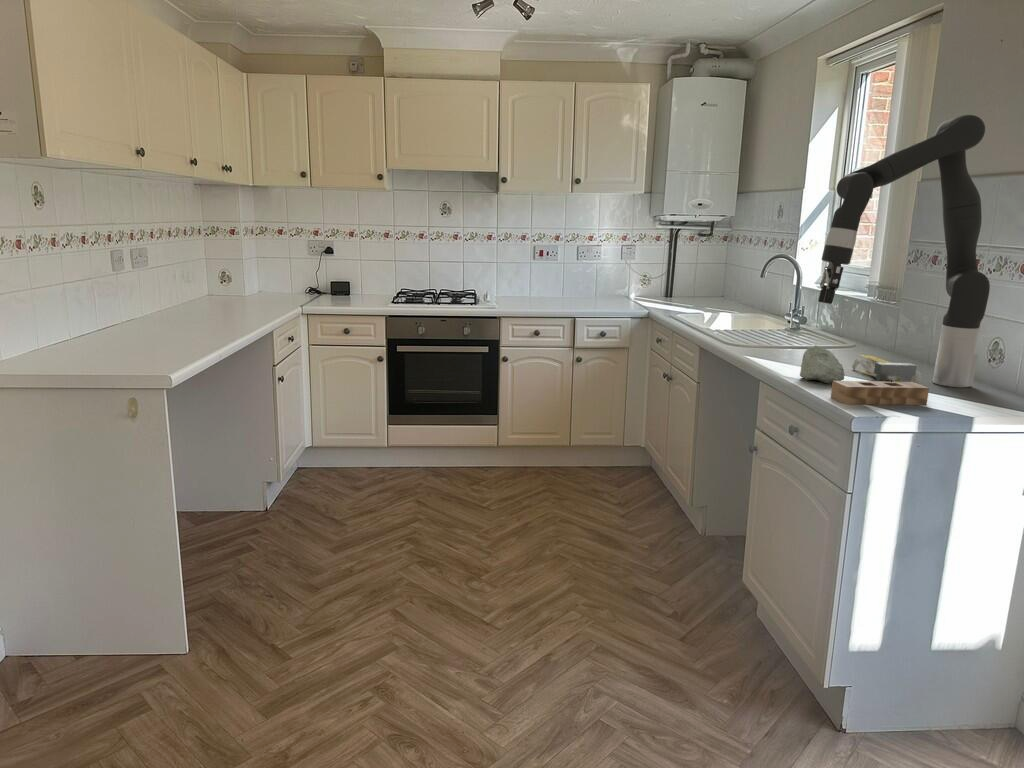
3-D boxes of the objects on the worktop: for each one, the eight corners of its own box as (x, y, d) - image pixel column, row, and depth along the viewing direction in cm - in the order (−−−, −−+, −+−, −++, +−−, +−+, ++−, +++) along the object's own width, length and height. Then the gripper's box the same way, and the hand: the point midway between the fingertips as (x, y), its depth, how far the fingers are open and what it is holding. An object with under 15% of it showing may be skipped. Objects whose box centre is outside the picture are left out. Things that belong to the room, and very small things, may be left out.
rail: (909, 398, 191) (912, 381, 190) (926, 404, 184) (929, 388, 183) (830, 397, 189) (833, 380, 188) (844, 404, 182) (847, 386, 181)
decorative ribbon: (876, 355, 227) (934, 374, 198) (870, 373, 228) (927, 394, 199) (852, 350, 226) (907, 369, 197) (847, 368, 227) (901, 390, 198)
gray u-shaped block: (905, 391, 199) (910, 363, 197) (912, 393, 196) (916, 365, 194) (871, 390, 198) (875, 362, 196) (877, 393, 195) (881, 364, 193)
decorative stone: (788, 374, 216) (792, 351, 208) (820, 361, 217) (826, 337, 209) (816, 405, 207) (821, 382, 199) (850, 391, 208) (857, 367, 201)
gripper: (859, 247, 193) (843, 306, 196) (848, 249, 207) (833, 304, 210) (830, 242, 195) (815, 301, 198) (821, 244, 208) (807, 299, 211)
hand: (824, 302), depth 204 cm, fingers open, 8 cm apart
